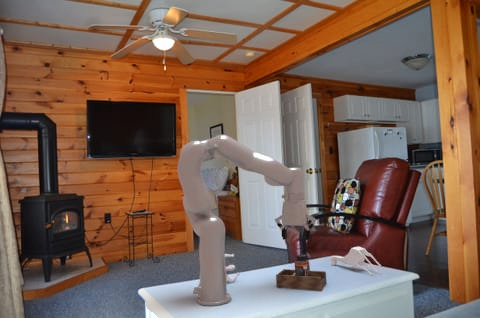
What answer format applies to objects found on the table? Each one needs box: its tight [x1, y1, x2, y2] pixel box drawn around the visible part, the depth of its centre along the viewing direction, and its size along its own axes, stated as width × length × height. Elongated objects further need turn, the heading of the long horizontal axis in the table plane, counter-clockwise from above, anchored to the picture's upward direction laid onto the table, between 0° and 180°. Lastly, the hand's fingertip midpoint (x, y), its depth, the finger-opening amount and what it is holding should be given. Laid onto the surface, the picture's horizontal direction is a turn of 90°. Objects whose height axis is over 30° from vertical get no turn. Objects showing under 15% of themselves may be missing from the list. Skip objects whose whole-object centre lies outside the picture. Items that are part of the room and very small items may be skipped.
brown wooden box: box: [275, 268, 327, 292], centre depth 150 cm, size 18×10×5 cm, turn 65°
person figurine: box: [196, 253, 240, 288], centre depth 157 cm, size 13×13×18 cm
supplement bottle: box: [294, 254, 311, 277], centre depth 150 cm, size 6×6×11 cm
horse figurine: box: [329, 246, 382, 276], centre depth 170 cm, size 5×16×25 cm
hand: (296, 239), depth 151 cm, fingers open, 9 cm apart
